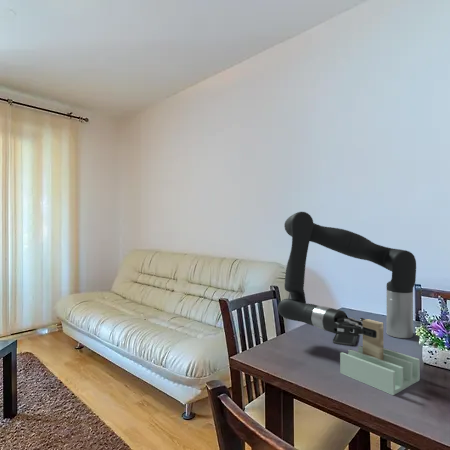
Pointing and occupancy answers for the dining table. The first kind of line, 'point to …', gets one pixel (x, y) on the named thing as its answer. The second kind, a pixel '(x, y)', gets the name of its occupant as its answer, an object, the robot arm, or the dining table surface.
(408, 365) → the slotted rack
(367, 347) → the tan wooden block
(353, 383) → the dining table surface
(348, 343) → the phone
